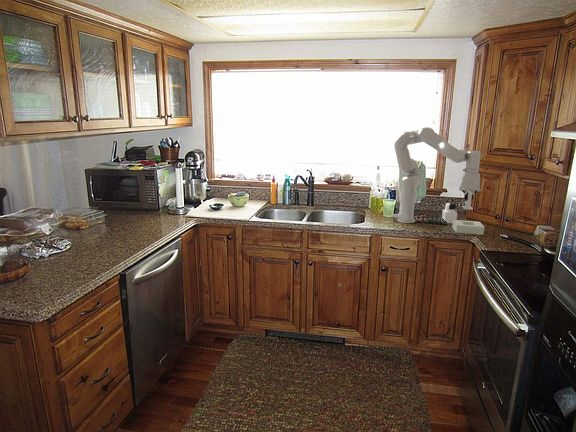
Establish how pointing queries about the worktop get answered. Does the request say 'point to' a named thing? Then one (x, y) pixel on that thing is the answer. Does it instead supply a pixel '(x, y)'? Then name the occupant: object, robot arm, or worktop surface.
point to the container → (449, 213)
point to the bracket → (468, 201)
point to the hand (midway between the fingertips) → (468, 200)
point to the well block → (468, 227)
